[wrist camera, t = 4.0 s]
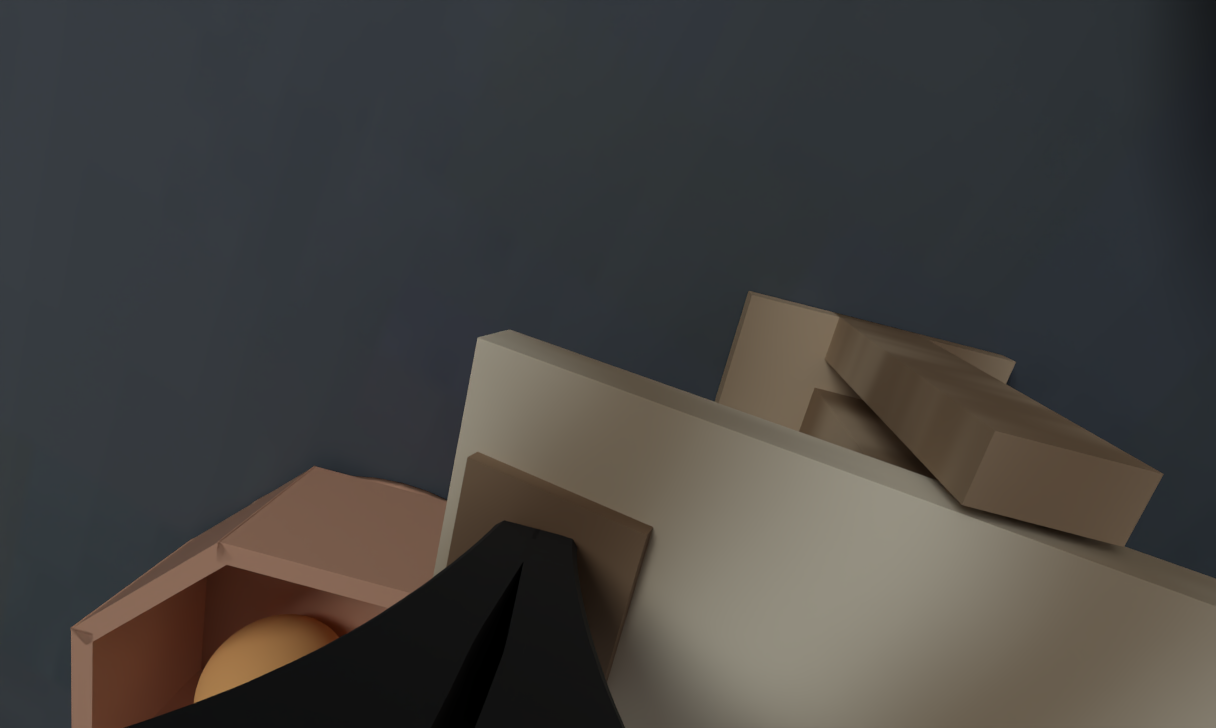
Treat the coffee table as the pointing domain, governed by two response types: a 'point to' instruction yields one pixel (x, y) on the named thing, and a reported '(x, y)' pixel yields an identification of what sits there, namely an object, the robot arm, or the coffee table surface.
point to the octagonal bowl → (253, 588)
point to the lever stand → (931, 417)
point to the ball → (261, 651)
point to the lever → (811, 569)
